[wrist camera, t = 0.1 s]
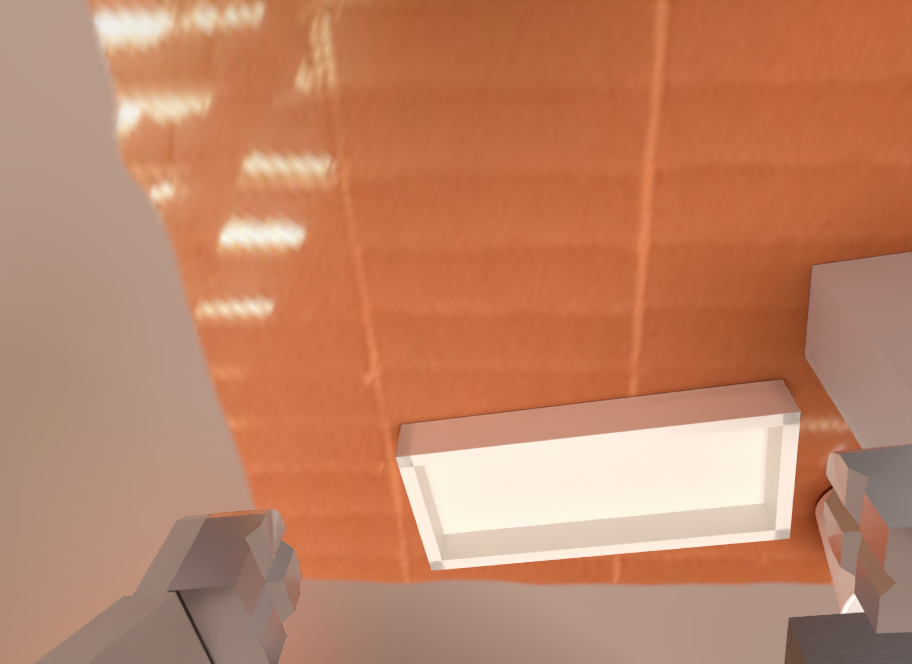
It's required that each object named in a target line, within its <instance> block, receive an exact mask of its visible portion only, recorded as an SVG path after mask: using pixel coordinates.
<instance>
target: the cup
mask: <svg viewBox="0 0 912 664" xmlns="http://www.w3.org/2000/svg"><path fill="white" fill-rule="evenodd" d="M833 490H834V488H832V489H831V490H829V491H828V492H827V493H826V494H825V495H824V496H823V497H822V498H821V499H820V500H819V502H818V504H817V506H816V510H815V515H816V519H817V523H818V527H819V531H820V535H821V538H822V542H823V545H824V550H825V554H826V557H827V561H828V565H829V569H830V573H831V576H832V580H833V585H834V589H835V593H836V597H837V600H838V604H839V608H840V614H845V613H859V612H864V610H863V608H862V607H861V605H860V603H859V601H858V599H857V597H856V596H855V594H854V588H855V576H853V575H852V574H850V573H849V572H847V571H845V570H844V569H842V568H841V567H840V566H839V564H838V562H837V560H836V558H835V556H834V554H833V552H832V549H831V547H830V544H829V541H828V538H827V533H826V527H825V522H824V500H825V499H826V498H827V497H828V496H829V495H830V494H831V492H832V491H833Z"/></svg>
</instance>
